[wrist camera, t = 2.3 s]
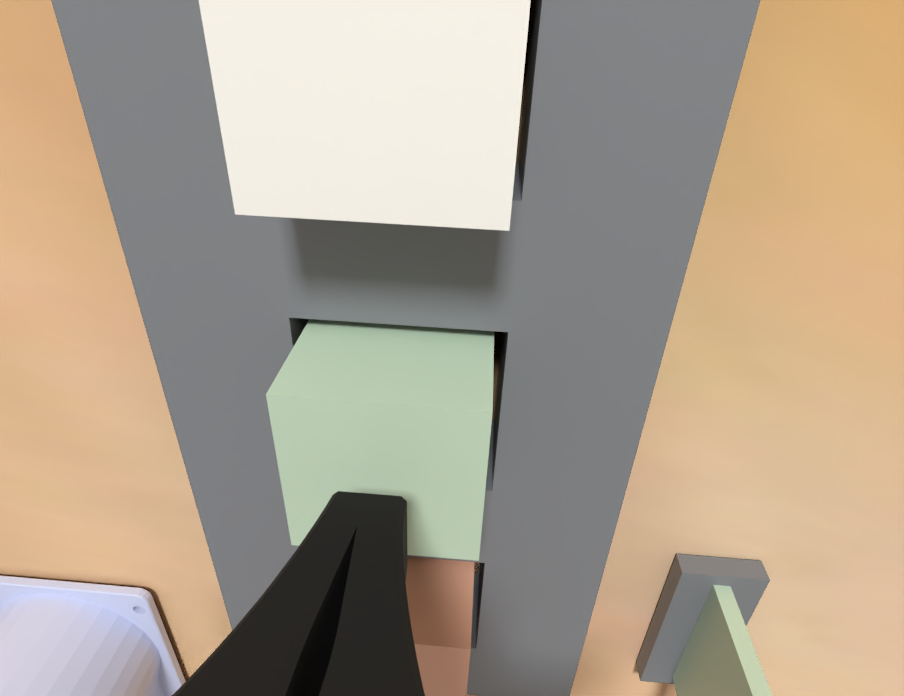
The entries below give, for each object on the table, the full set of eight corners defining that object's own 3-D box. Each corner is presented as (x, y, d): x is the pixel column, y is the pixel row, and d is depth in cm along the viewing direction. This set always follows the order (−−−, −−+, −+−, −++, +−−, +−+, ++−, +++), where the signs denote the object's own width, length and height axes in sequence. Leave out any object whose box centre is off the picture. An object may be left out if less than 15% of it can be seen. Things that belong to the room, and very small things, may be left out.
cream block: (507, 164, 12) (509, 230, 9) (306, 153, 13) (235, 214, 9) (528, -90, 10) (541, -130, 7) (281, -99, 10) (175, -142, 7)
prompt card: (708, 668, 24) (760, 839, 19) (636, 661, 24) (670, 830, 20) (761, 560, 21) (842, 739, 16) (676, 553, 21) (730, 729, 16)
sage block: (483, 444, 17) (478, 561, 13) (333, 433, 17) (291, 545, 13) (494, 311, 14) (492, 411, 11) (320, 299, 15) (265, 394, 11)
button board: (560, 626, 24) (567, 703, 21) (271, 601, 24) (244, 673, 22) (768, -279, 10) (862, -374, 7) (79, -294, 10) (-60, -387, 8)
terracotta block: (469, 610, 21) (463, 730, 18) (349, 600, 21) (320, 717, 18) (476, 528, 19) (470, 648, 15) (341, 518, 19) (306, 634, 15)
